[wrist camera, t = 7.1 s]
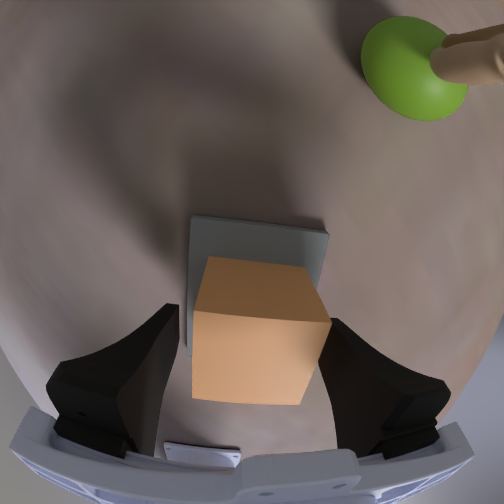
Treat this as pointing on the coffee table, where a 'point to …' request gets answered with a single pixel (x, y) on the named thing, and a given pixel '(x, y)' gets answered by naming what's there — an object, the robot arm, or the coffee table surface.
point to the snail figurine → (429, 65)
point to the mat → (249, 250)
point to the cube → (256, 332)
